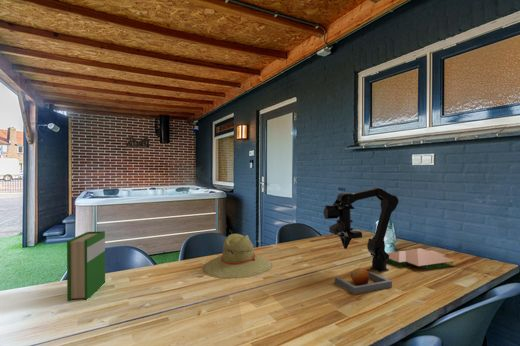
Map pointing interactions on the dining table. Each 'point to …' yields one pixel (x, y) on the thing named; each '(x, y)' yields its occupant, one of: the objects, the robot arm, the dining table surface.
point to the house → (419, 257)
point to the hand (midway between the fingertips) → (345, 248)
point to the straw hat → (237, 260)
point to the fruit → (360, 276)
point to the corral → (378, 285)
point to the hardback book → (85, 264)
